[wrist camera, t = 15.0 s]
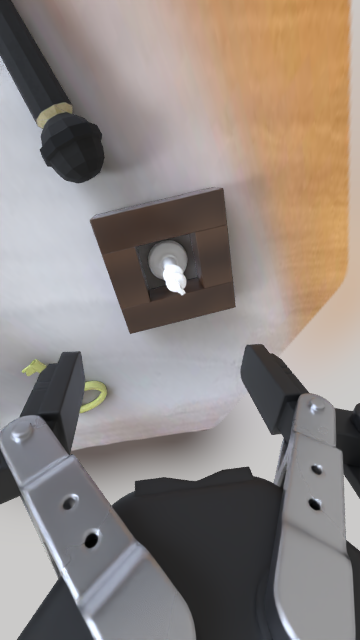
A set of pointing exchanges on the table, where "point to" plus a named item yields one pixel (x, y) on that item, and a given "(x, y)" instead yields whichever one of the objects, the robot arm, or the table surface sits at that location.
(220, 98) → the table surface
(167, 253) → the chess piece
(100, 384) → the key
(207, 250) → the holder
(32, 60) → the microphone
